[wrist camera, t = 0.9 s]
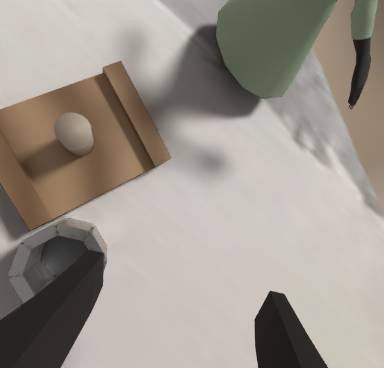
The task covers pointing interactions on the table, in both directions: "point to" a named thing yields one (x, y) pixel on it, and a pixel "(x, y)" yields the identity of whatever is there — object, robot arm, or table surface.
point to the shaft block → (75, 145)
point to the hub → (32, 250)
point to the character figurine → (285, 41)
